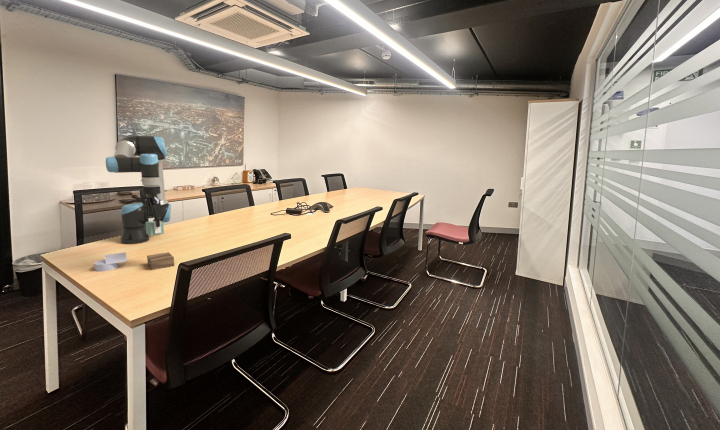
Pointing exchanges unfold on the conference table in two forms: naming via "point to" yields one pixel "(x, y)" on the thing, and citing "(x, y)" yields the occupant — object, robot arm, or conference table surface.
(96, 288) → the conference table surface
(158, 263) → the walnut block
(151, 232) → the green cube
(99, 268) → the wedge on round base
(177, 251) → the conference table surface
